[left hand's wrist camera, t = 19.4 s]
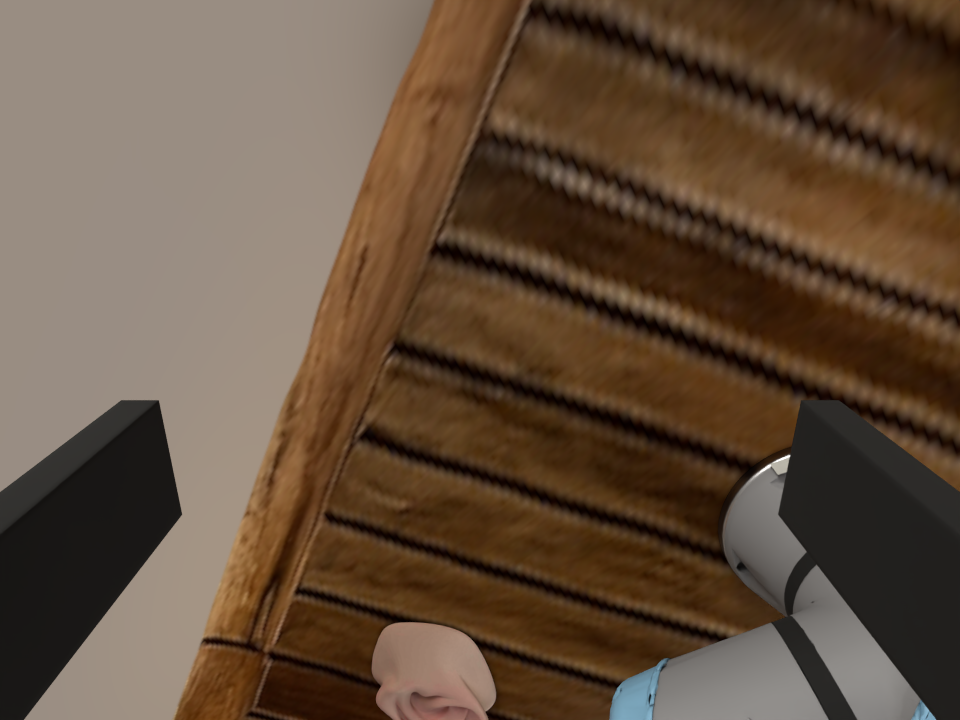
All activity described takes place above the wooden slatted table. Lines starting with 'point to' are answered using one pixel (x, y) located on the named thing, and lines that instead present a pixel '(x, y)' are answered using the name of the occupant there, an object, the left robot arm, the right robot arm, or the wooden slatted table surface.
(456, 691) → the anatomical model
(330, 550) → the wooden slatted table surface
